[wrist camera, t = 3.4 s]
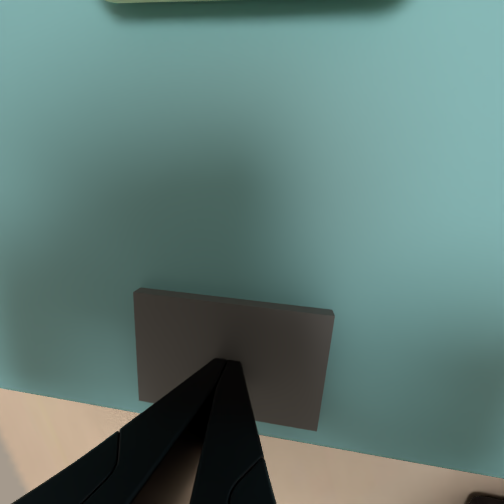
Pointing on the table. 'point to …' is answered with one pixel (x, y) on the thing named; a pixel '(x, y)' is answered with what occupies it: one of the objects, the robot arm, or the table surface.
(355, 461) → the table surface
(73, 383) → the plate
